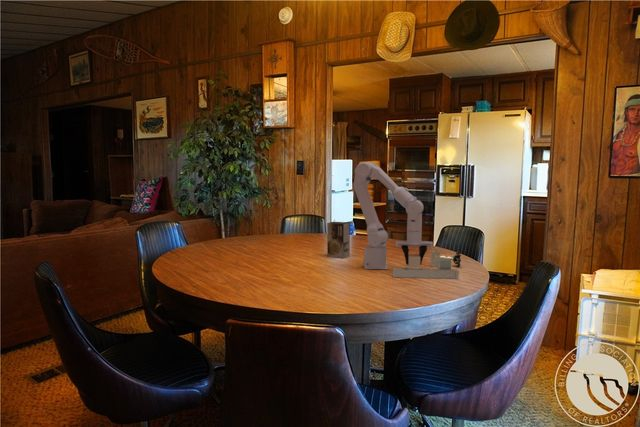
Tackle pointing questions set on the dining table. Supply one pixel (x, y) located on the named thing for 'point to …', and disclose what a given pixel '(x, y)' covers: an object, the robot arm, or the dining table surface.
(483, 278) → the dining table surface
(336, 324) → the dining table surface
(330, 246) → the coffee box
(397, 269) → the rail
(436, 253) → the valve
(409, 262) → the block
